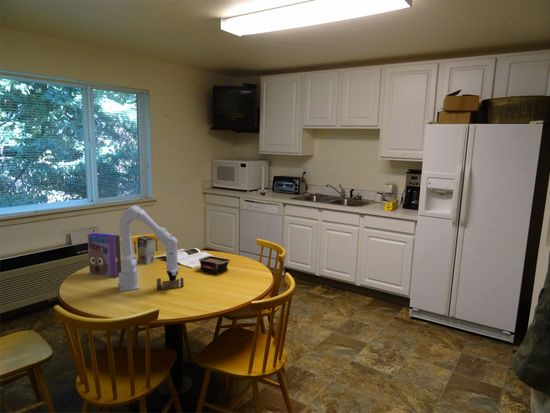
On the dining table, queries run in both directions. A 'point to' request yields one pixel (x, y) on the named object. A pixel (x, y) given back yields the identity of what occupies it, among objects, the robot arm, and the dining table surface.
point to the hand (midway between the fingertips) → (172, 283)
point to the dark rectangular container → (213, 264)
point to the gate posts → (160, 283)
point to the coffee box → (145, 249)
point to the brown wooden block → (170, 284)
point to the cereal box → (104, 254)
